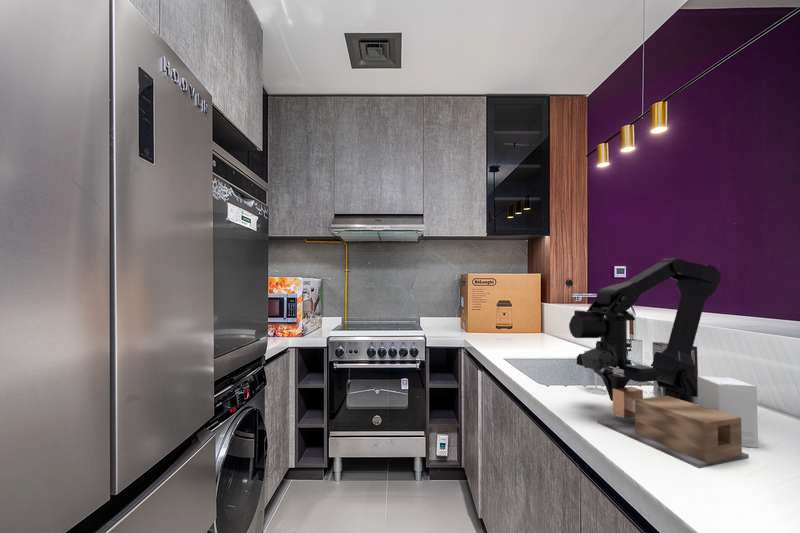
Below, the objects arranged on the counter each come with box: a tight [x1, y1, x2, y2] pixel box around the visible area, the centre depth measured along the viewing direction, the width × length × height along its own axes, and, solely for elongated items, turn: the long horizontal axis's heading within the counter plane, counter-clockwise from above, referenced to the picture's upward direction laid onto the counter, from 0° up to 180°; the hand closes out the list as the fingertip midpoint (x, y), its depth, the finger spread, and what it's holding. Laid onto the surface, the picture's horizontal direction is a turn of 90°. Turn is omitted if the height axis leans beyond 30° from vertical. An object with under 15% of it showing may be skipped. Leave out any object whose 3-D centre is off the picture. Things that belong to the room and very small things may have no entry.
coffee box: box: [652, 341, 699, 405], centre depth 107 cm, size 9×6×16 cm
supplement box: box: [697, 375, 759, 449], centre depth 79 cm, size 7×7×13 cm
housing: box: [597, 396, 750, 469], centre depth 79 cm, size 22×14×8 cm, turn 19°
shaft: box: [612, 386, 644, 418], centre depth 79 cm, size 20×6×6 cm, turn 19°
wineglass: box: [583, 350, 606, 395], centre depth 113 cm, size 7×7×12 cm
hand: (613, 401), depth 91 cm, fingers closed
